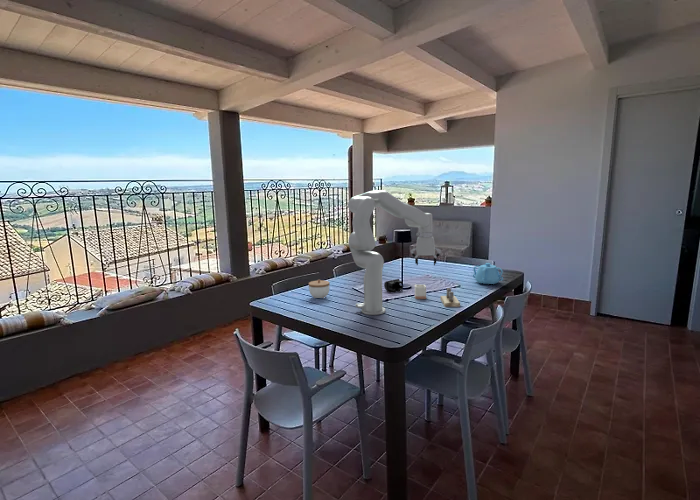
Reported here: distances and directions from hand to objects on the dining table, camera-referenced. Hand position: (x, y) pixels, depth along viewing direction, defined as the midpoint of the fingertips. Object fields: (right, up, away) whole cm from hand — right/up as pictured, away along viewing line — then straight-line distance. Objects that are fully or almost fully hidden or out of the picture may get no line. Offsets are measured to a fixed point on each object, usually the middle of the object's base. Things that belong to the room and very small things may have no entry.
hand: (425, 264), depth 208 cm
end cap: (-15, -18, +24) cm, 33 cm away
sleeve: (-2, -19, +7) cm, 21 cm away
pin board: (+12, -21, -6) cm, 25 cm away
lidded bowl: (-62, -20, +13) cm, 66 cm away
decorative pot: (+49, -14, +36) cm, 62 cm away
